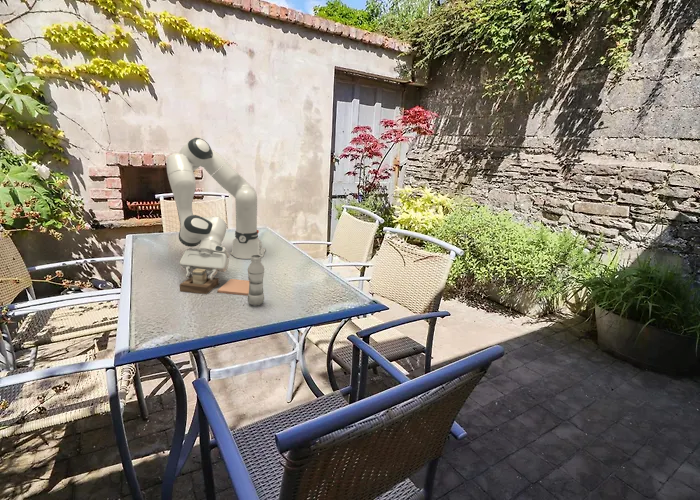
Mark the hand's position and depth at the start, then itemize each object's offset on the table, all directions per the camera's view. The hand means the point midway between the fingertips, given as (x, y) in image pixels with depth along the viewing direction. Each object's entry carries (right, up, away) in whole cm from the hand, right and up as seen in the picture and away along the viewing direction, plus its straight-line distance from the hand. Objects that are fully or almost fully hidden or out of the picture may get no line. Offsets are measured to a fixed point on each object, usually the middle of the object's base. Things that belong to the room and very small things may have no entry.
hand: (199, 278), depth 150 cm
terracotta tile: (+16, -5, +5) cm, 17 cm away
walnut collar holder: (0, -4, +2) cm, 5 cm away
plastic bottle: (+27, -10, -9) cm, 30 cm away
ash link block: (0, -4, +2) cm, 5 cm away
